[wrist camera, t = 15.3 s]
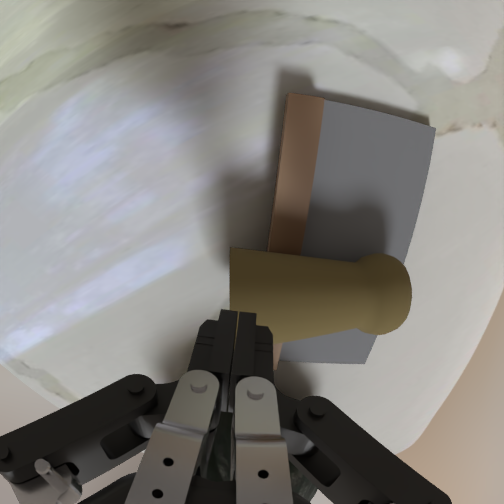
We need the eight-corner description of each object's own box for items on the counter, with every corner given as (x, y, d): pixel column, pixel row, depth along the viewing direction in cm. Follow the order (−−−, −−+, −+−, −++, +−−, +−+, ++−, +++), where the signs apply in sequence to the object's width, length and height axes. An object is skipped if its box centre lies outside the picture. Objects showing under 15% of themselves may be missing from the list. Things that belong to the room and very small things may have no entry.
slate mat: (275, 353, 26) (276, 360, 25) (318, 99, 17) (320, 99, 16) (362, 357, 26) (364, 363, 25) (430, 127, 17) (435, 128, 16)
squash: (126, 436, 25) (195, 559, 17) (220, 374, 20) (325, 543, 13) (215, 415, 36) (270, 507, 29) (304, 358, 32) (374, 467, 24)
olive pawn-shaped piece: (231, 246, 21) (381, 246, 22) (232, 333, 21) (379, 326, 22) (229, 247, 15) (427, 246, 15) (231, 366, 15) (420, 349, 16)
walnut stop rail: (252, 351, 26) (251, 368, 24) (286, 94, 17) (288, 92, 15) (275, 353, 26) (276, 370, 24) (318, 99, 17) (324, 98, 15)
